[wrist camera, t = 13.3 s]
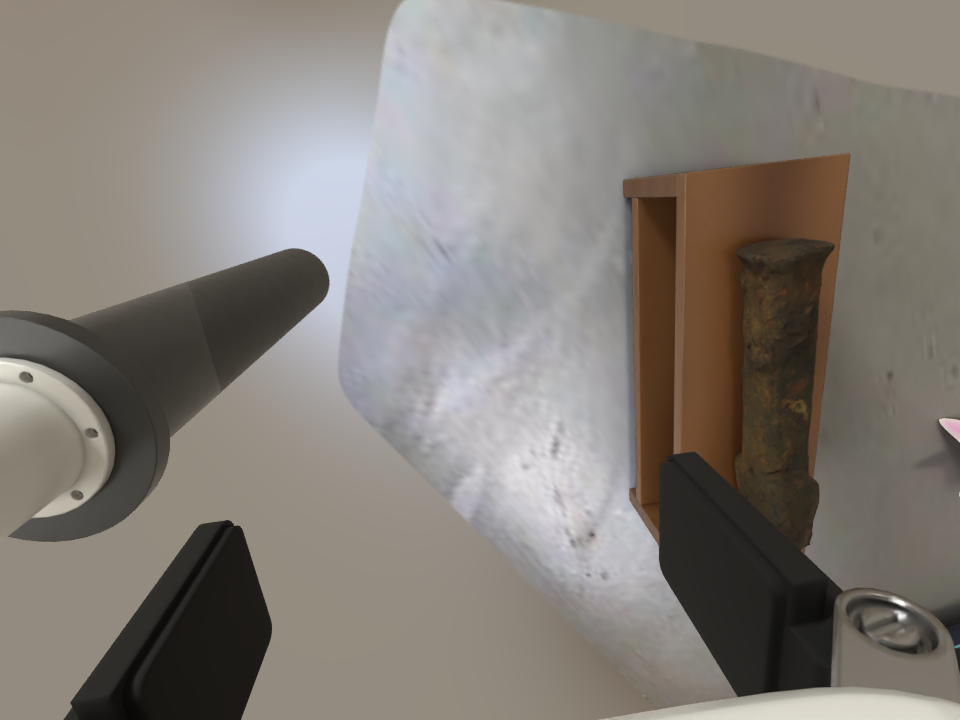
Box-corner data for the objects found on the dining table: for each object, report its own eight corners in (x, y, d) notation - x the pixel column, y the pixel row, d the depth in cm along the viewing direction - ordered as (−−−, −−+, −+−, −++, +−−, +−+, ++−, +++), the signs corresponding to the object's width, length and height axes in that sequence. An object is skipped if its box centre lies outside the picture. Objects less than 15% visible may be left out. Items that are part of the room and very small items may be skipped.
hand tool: (723, 240, 27) (779, 249, 22) (794, 232, 27) (863, 239, 23) (708, 530, 33) (750, 582, 28) (766, 522, 33) (816, 572, 29)
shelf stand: (629, 500, 42) (678, 576, 34) (622, 180, 34) (685, 173, 26) (730, 485, 43) (804, 556, 34) (748, 164, 34) (851, 153, 26)
